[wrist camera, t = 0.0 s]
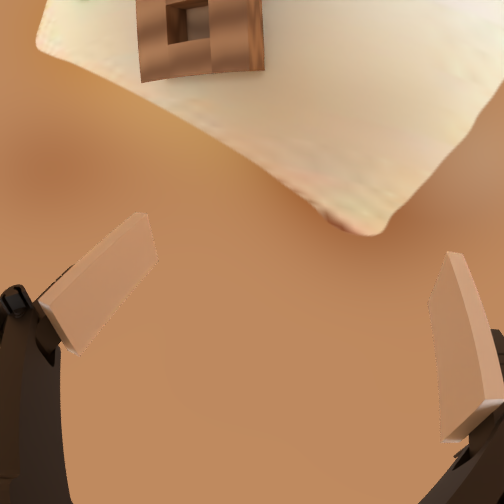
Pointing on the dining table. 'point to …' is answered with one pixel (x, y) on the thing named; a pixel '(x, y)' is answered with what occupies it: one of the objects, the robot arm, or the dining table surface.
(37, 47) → the dining table surface
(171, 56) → the bore block
